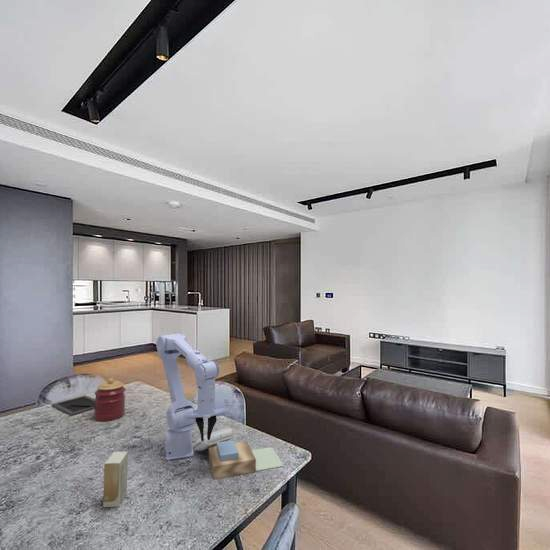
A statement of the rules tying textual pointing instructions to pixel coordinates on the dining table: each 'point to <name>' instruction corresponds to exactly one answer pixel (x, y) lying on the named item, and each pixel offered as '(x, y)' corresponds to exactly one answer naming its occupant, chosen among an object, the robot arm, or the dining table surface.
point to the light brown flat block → (232, 462)
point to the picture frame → (76, 405)
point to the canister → (109, 400)
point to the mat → (266, 459)
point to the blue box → (227, 451)
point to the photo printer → (214, 439)
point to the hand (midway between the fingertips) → (205, 439)
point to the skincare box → (115, 479)
